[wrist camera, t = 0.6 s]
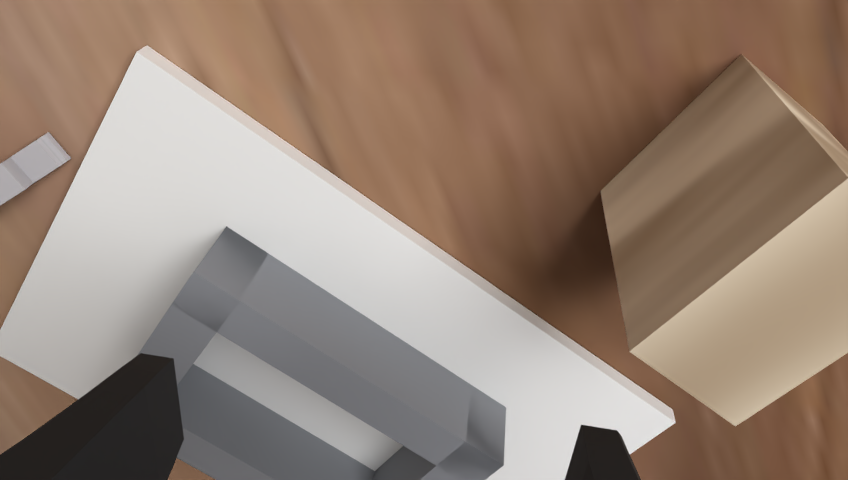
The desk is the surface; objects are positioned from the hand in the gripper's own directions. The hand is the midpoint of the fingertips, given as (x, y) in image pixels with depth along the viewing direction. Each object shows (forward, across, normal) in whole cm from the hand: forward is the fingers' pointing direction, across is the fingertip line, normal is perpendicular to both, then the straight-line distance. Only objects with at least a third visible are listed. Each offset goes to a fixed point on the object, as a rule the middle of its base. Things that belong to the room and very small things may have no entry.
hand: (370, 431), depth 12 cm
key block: (+10, -7, -2) cm, 12 cm away
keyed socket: (+10, +3, +8) cm, 13 cm away
